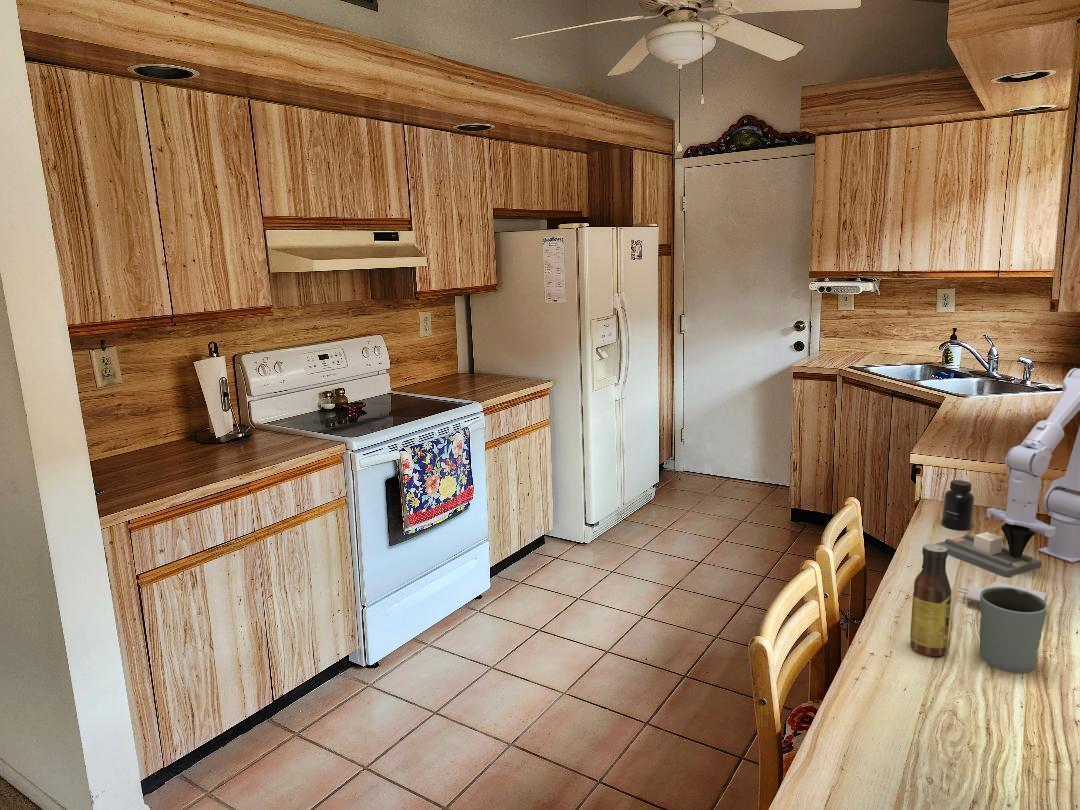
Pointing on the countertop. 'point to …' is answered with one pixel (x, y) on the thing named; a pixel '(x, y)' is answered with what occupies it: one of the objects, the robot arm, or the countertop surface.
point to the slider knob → (988, 543)
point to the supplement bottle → (958, 506)
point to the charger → (975, 591)
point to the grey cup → (1010, 628)
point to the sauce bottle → (931, 603)
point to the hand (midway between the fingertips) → (1015, 556)
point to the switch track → (989, 557)
